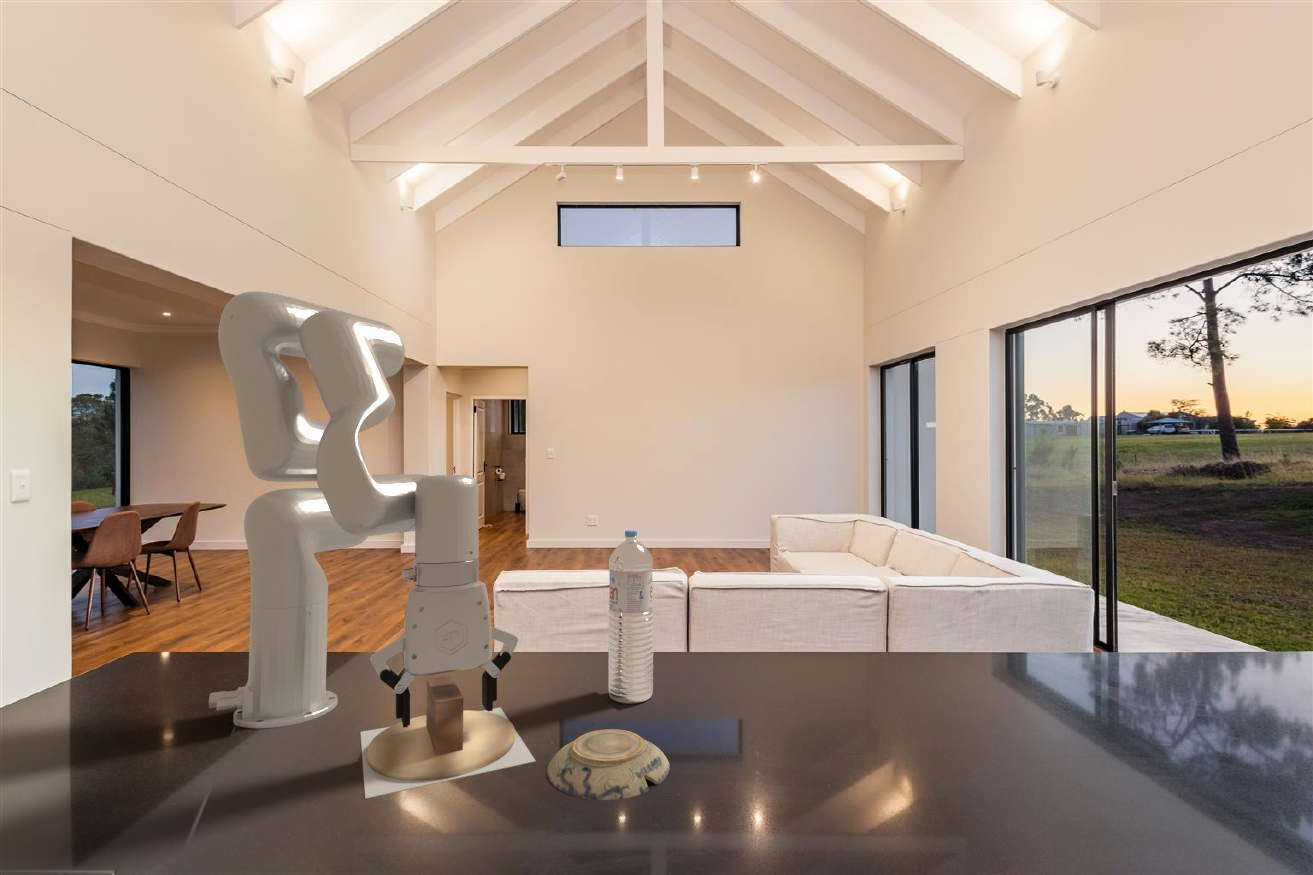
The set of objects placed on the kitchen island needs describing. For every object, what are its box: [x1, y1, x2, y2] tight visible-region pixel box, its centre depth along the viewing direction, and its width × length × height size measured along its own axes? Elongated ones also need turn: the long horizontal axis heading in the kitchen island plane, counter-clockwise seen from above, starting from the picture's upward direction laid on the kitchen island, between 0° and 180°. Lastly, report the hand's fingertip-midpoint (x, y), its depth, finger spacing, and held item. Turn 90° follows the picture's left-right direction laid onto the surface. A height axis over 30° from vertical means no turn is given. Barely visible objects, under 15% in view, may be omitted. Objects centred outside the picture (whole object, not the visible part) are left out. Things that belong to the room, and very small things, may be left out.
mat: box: [359, 707, 537, 800], centre depth 76 cm, size 18×18×1 cm
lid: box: [367, 674, 516, 781], centre depth 76 cm, size 17×17×7 cm
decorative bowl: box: [546, 728, 671, 801], centre depth 71 cm, size 15×4×15 cm
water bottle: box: [607, 529, 654, 705], centre depth 95 cm, size 7×7×25 cm
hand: (447, 715), depth 76 cm, fingers open, 9 cm apart
